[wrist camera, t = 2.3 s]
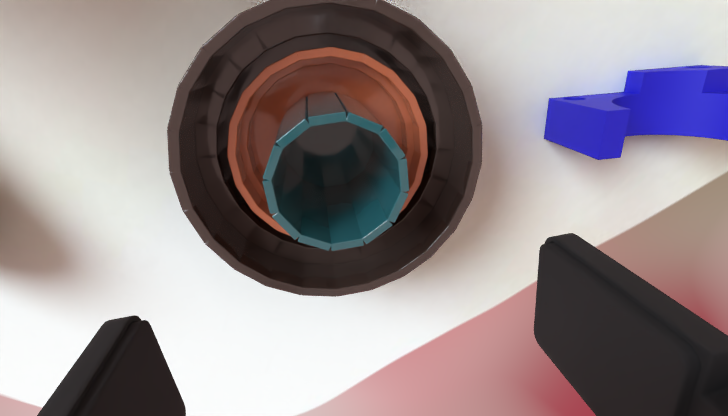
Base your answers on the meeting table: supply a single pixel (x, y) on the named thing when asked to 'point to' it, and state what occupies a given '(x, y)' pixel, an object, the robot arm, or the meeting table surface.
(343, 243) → the cup
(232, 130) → the small bowl
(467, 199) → the large bowl
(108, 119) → the meeting table surface
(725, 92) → the blue pipe clamp
